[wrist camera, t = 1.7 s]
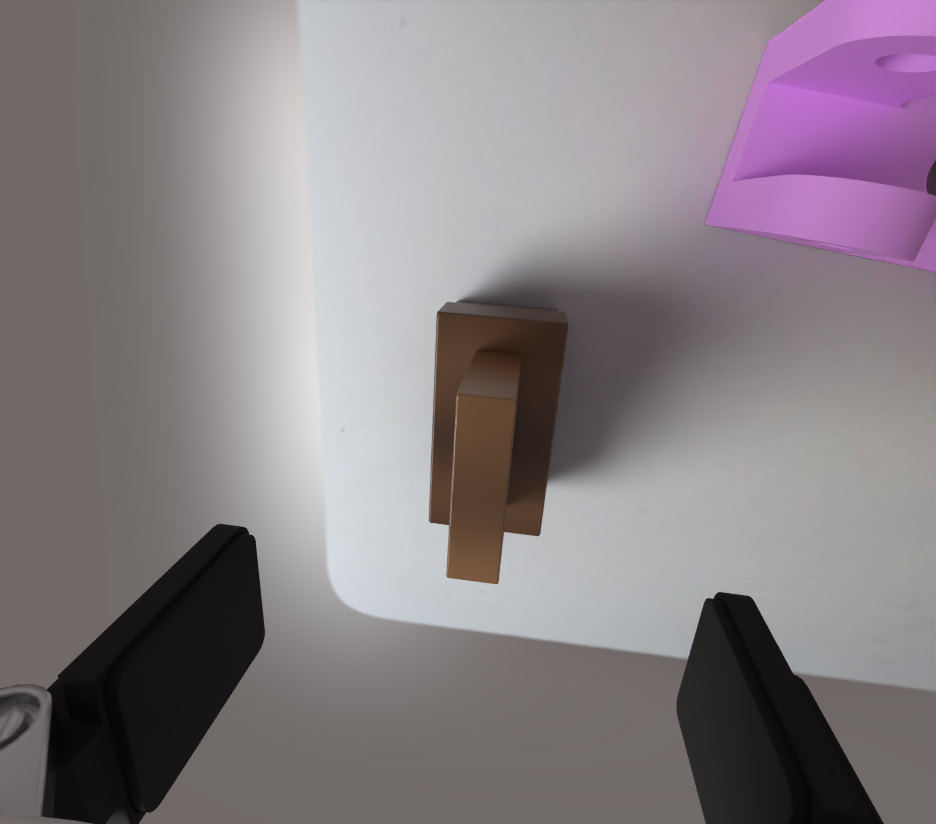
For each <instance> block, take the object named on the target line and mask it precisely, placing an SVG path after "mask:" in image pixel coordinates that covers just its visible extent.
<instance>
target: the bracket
mask: <svg viewBox="0 0 936 824" xmlns="http://www.w3.org/2000/svg"><path fill="white" fill-rule="evenodd" d="M935 161H936V0H825V1H824V2H822V3H821V4H820V5H818V6H817V7H816V8H814V9H813V10H811V11H810V12H809V13H807V14H806V15H804V16H803V17H802V18H800V19H799V20H797V21H796V22H795V23H793V24H792V25H790V26H789V27H788V28H786V29H785V30H783V31H782V32H781V33H779V34H778V35H776V36H775V37H774V38H772V39H771V40H769V41H768V43H767V46H766V49H765V52H764V54H763V57H762V60H761V63H760V66H759V69H758V72H757V75H756V77H755V80H754V83H753V86H752V89H751V92H750V95H749V98H748V101H747V103H746V106H745V109H744V112H743V115H742V118H741V121H740V124H739V127H738V129H737V132H736V135H735V138H734V141H733V144H732V147H731V150H730V152H729V155H728V158H727V161H726V164H725V167H724V170H723V173H722V176H721V178H720V181H719V184H718V187H717V190H716V193H715V196H714V199H713V201H712V204H711V207H710V210H709V213H708V216H707V219H706V222H705V225H709V226H714V227H718V228H723V229H728V230H733V231H738V232H743V233H747V234H752V235H757V236H762V237H767V238H772V239H776V240H781V241H786V242H791V243H796V244H801V245H806V246H810V247H815V248H820V249H825V250H830V251H835V252H839V253H844V254H849V255H854V256H859V257H864V258H868V259H873V260H878V261H883V262H888V263H893V264H897V265H902V266H907V267H912V268H917V269H922V270H927V271H931V272H936V196H934V195H930V194H928V192H927V187H926V182H927V176H928V173H929V171H930V169H931V167H932V165H933V163H934V162H935Z"/></svg>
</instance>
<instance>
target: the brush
mask: <svg viewBox="0 0 936 824" xmlns="http://www.w3.org/2000/svg"><path fill="white" fill-rule="evenodd" d="M567 330H568V322H567V318H566V314H565V312H560V311H558V310H557V309H549V308H537V307H525V306H513V305H501V304H489V303H478V302H466V301H457V302H456V303H454V302H447V303H446V304H445V305H444V306H443V307H442V308H441V309H440V310H439V311H438V312H437V323H436V349H435V375H434V400H433V426H432V452H431V478H430V503H429V522H430V523H437V524H445V525H449V538H448V555H447V573H446V576H447V577H448V578H454V579H461V580H469V581H476V582H484V583H491V584H498V582H499V573H500V563H501V554H502V545H503V536H504V532H509V533H517V534H525V535H533V536H539V535H540V531H541V524H542V517H543V509H544V502H545V494H546V487H547V479H548V472H549V464H550V457H551V450H552V442H553V435H554V427H555V420H556V412H557V405H558V397H559V390H560V382H561V375H562V368H563V360H564V353H565V345H566V338H567Z"/></svg>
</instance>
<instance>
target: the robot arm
mask: <svg viewBox="0 0 936 824" xmlns="http://www.w3.org/2000/svg"><path fill="white" fill-rule="evenodd" d="M264 636H265V629H264V618H263V608H262V600H261V589H260V580H259V569H258V560H257V550H256V541H255V538H254V536H252V535H249V532H248V530H247V528H245V527H240V526H233V525H225V524H218V525H216V526H214V527H213V528H212V529H211V530H210V531H209V532H208V533H207V534H206V535H205V536H204V537H203V538H201V539H200V540H199V541H198V542H197V543H196V544H195V545H194V546H193V547H192V548H191V549H190V550H189V551H188V552H187V553H186V554H185V555H184V556H183V557H182V558H181V559H179V560H178V561H177V562H176V563H175V564H174V565H173V566H172V567H171V568H170V569H169V570H168V571H167V572H166V573H165V574H164V575H163V576H162V577H161V578H160V579H159V580H158V581H156V582H155V583H154V584H153V585H152V586H151V587H150V588H149V589H148V590H147V591H146V592H145V593H144V594H143V595H142V596H141V597H140V598H139V599H138V600H137V601H135V602H134V604H132V605H131V606H130V607H129V608H128V609H127V610H126V611H125V612H124V613H123V614H122V615H121V616H120V617H119V618H118V619H117V620H116V621H115V622H113V623H112V624H111V625H110V626H109V627H108V628H107V629H106V630H105V631H104V632H103V633H102V634H101V635H100V636H99V637H98V638H97V639H96V640H95V641H94V642H93V643H92V644H90V645H89V646H88V647H87V649H85V650H84V651H83V652H82V653H81V654H80V655H79V656H78V657H77V658H76V659H75V660H74V661H73V662H72V663H71V664H70V665H68V666H67V667H66V668H65V669H64V670H63V671H62V672H61V673H60V674H59V675H58V679H57V680H56V681H55V682H54V683H53V684H52V685H51V686H50V687H49V688H48V689H47V690H46V689H45V688H44V687H40V686H37V685H33V684H25V685H15V686H10V687H6V688H2V689H0V824H139V822H140V821H141V819H142V818H143V816H144V815H145V813H146V812H149V813H150V812H152V811H154V810H155V809H156V808H157V807H158V806H159V805H160V803H161V802H162V800H163V799H164V797H165V795H166V794H167V792H168V791H169V789H170V788H171V786H172V785H173V783H174V782H175V780H176V779H177V777H178V776H179V774H180V773H181V771H182V769H183V768H184V766H185V765H186V763H187V762H188V760H189V759H190V757H191V756H192V754H193V752H194V751H195V749H196V748H197V746H198V745H199V743H200V742H201V740H202V738H203V737H204V735H205V734H206V732H207V731H208V729H209V728H210V726H211V725H212V723H213V722H214V720H215V719H216V717H217V715H218V714H219V712H220V711H221V709H222V708H223V706H224V705H225V703H226V702H227V700H228V698H229V697H230V695H231V694H232V692H233V691H234V689H235V688H236V686H237V685H238V683H239V681H240V680H241V678H242V677H243V675H244V673H245V672H246V671H247V669H248V667H249V666H250V664H251V663H252V661H253V660H254V658H255V657H256V655H257V654H258V652H259V650H260V648H261V647H262V644H263V640H264ZM677 715H678V720H679V724H680V728H681V731H682V735H683V739H684V742H685V747H686V750H687V754H688V758H689V762H690V765H691V769H692V773H693V777H694V781H695V784H696V788H697V792H698V796H699V799H700V803H701V807H702V811H703V815H704V818H705V822H706V824H884V823H883V822H882V820H881V818H880V816H879V814H878V813H877V811H876V809H875V807H874V806H873V804H872V802H871V800H870V799H869V796H868V795H867V793H866V791H865V789H864V787H863V786H862V784H861V782H860V780H859V778H858V777H857V775H856V773H855V771H854V770H853V768H852V766H851V764H850V762H849V761H848V759H847V757H846V755H845V753H844V751H843V750H842V748H841V746H840V744H839V742H838V741H837V739H836V737H835V735H834V733H833V732H832V730H831V728H830V726H829V725H828V723H827V721H826V719H825V717H824V715H823V714H822V712H821V710H820V708H819V707H818V705H817V703H816V701H815V699H814V697H813V696H812V694H811V692H810V690H809V688H808V687H807V685H806V684H805V683H804V681H803V680H802V679H801V678H799V677H798V676H796V675H794V674H793V673H792V671H791V669H790V667H789V665H788V663H787V661H786V660H785V658H784V656H783V654H782V652H781V650H780V648H779V647H778V645H777V643H776V641H775V639H774V637H773V636H772V634H771V632H770V630H769V628H768V626H767V624H766V623H765V621H764V619H763V617H762V615H761V613H760V611H759V610H758V608H757V606H756V604H755V602H754V601H753V599H752V598H751V597H749V596H745V595H738V594H730V593H723V592H718V593H717V594H716V595H715V597H714V599H711V598H707V599H706V600H705V602H704V605H703V609H702V612H701V616H700V619H699V623H698V626H697V630H696V633H695V637H694V640H693V644H692V647H691V651H690V654H689V658H688V661H687V665H686V668H685V672H684V675H683V679H682V682H681V686H680V689H679V693H678V698H677Z"/></svg>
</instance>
